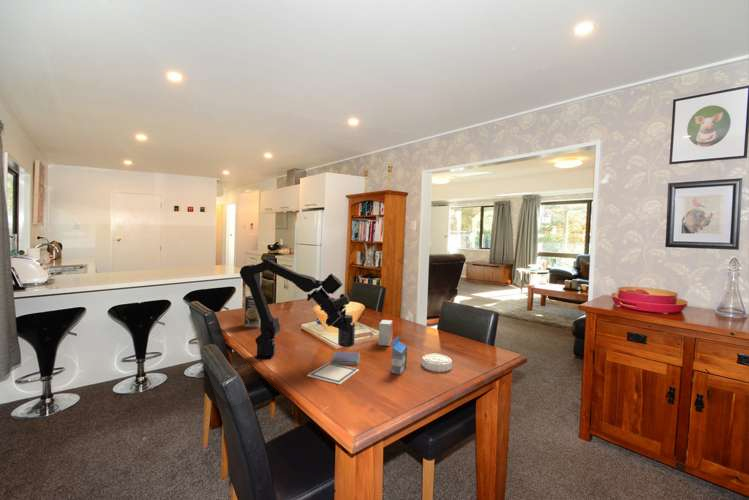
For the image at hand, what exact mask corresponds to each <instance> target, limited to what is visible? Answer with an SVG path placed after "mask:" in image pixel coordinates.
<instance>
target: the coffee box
mask: <svg viewBox="0 0 749 500" xmlns="http://www.w3.org/2000/svg"><path fill="white" fill-rule="evenodd" d="M244 298H245V299H244V301H245V302H244V303H245V304H244V327H245V328H257V329H260V317H259V314H258V311H257V309H256V306H255V303H254V300H253V297H252V295H250V296H246V297H244ZM266 298H267V297H266V296H265V299H266ZM266 300H267V299H266Z"/></svg>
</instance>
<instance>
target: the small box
mask: <svg viewBox="0 0 749 500" xmlns="http://www.w3.org/2000/svg"><path fill="white" fill-rule="evenodd" d="M393 325H394V321H393V320H391V319H381V321H380V322H379V323H378V346H388V347H390V346H391V344H392V341H393Z"/></svg>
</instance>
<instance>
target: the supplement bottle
mask: <svg viewBox="0 0 749 500" xmlns="http://www.w3.org/2000/svg"><path fill="white" fill-rule="evenodd" d="M353 319H354V318H353V315H350V314H346V315H343V321H344V322H345V324H346V325H347V327H348V328H349V330H350V331H349V332H345V331H343V330H341V329H338V328H337V329H338V330H337V332H338V333H337V335H338V336H337V344H338V346H339V347H343V348H351V347H353V346H354V345H355V334H356V333H355V331H356V325H355V323H354V322H353Z"/></svg>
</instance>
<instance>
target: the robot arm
mask: <svg viewBox="0 0 749 500" xmlns="http://www.w3.org/2000/svg"><path fill="white" fill-rule="evenodd" d="M266 271H268V272H271V273H272V274H275V275H276V276H278V277H281V278H283V279H285V280H287V281H290V282H291V283H292V284H294V285H295V286H296V287H297V288H299V290H301V291H303V292H305V293H308V294H307V298H306V302H310V300H313V301H314V302H315V303H316V304H317V305H318V306H319V307H320V311H321V312H322V311H323V312H324V313H325V314H326V319H325V324H326V325H327V326H328V327H332V328H333V327H334V328H335V329H341V330H343V331H345V332H349V331H350V330H349V328H348V327H347V325H346V324H345V322H344V321H343V315H347V314H346V313H347V305H349V304H350V303H351V301H350V299H349V296H348V294H345V293H344V292H343V293H341V294H340V295H339V297H338V298H336V299H335V298H333V297H331V296H329V294H331V295H333V294H335V293H336V292H337V290H339V289H340V288H341V287H342V286H343V283H342V281H341V280H340V279H339V278H338V277H337V276H335V275H334V274H333V273H330V274H328V276H327V277H326V278H325V279H324V280H319V279H316V278H315V277H313V276H310V275H307V274H302V273H298V272H296V271H293V270H291V269H290V268H288V267H286V266H283V265H281V264H279V263H277V262H275V261H274V260H272V259H268V260H264V261H262V262H260V263H257V264H248V265H244V266H242V267H241V268H240V271H239V276H240V278H241V280H242V281H243V282H244V283H245V285H246V286H247V287H248V289H249V291H250V294H251V296H252V297H253V300H254V303H255V306H256V309H257V311H258V314H259V317H260V328H259V331H260V335H258V336H257V337H256V338H255V339H254V341H255V344H256V355H255V359H272V358H273V357H274V355H275V354H276V344H275V340H274V339H275V338H276V337H277V335H279V333H280V331H281V329H280V327H281V326H282V325H281V324H280V321H279V318H278V317H275V318H274V317H273V316H272V313H271V311H270V308H269V305H268V303H267V299H265V297H266V296H265V294H264V289H263V288H262V283H261V278H262V277H261V273H264V272H266ZM318 288H320V289H318ZM310 292H311V293H310Z"/></svg>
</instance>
